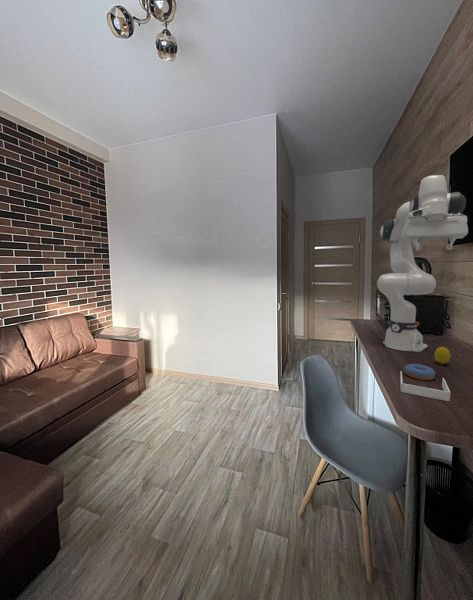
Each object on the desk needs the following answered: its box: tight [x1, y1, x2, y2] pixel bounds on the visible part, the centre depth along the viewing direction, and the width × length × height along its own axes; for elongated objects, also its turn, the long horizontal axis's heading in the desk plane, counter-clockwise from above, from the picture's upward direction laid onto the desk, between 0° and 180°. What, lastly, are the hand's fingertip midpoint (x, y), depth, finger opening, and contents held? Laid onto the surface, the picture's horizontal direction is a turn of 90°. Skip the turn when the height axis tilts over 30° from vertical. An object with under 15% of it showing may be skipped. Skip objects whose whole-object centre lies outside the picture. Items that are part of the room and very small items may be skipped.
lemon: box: [433, 346, 451, 365], centre depth 117 cm, size 6×6×8 cm
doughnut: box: [404, 363, 436, 381], centre depth 104 cm, size 10×10×5 cm
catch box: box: [399, 370, 451, 403], centre depth 93 cm, size 13×13×3 cm
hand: (433, 249), depth 100 cm, fingers open, 8 cm apart
